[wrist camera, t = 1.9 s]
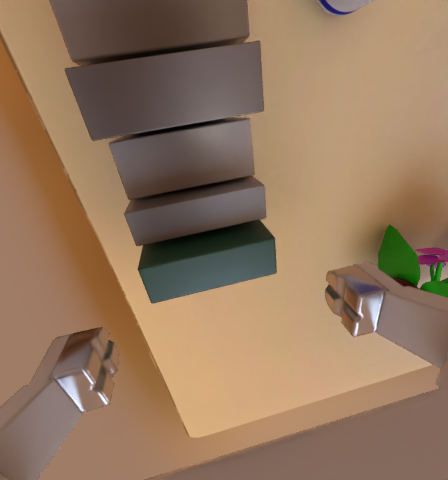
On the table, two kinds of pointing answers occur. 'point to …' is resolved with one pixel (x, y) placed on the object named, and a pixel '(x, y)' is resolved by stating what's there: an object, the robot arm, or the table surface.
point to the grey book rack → (170, 107)
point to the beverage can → (342, 6)
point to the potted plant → (411, 263)
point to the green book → (207, 260)
